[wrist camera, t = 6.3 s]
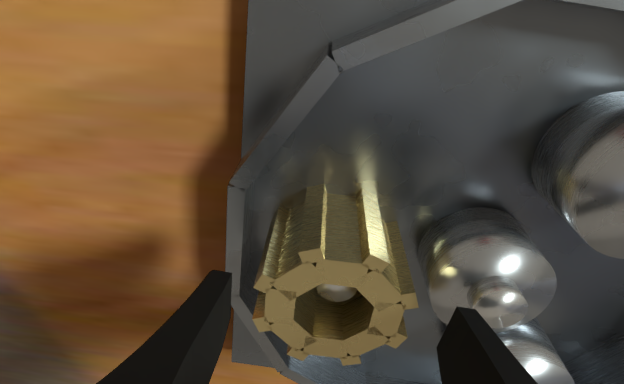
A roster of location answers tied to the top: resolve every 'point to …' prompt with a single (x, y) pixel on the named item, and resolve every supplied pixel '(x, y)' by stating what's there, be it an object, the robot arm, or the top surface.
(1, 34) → the top surface
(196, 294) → the robot arm
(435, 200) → the carrier
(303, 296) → the gear
